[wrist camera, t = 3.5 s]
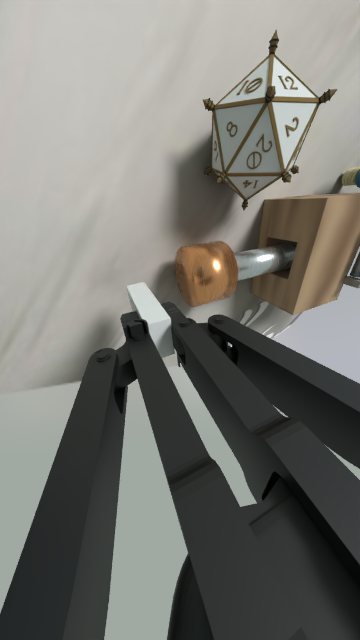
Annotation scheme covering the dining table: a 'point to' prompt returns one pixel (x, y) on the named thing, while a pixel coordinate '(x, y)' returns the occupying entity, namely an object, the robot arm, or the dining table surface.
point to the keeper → (356, 268)
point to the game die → (261, 126)
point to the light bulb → (351, 177)
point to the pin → (224, 268)
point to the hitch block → (310, 249)
